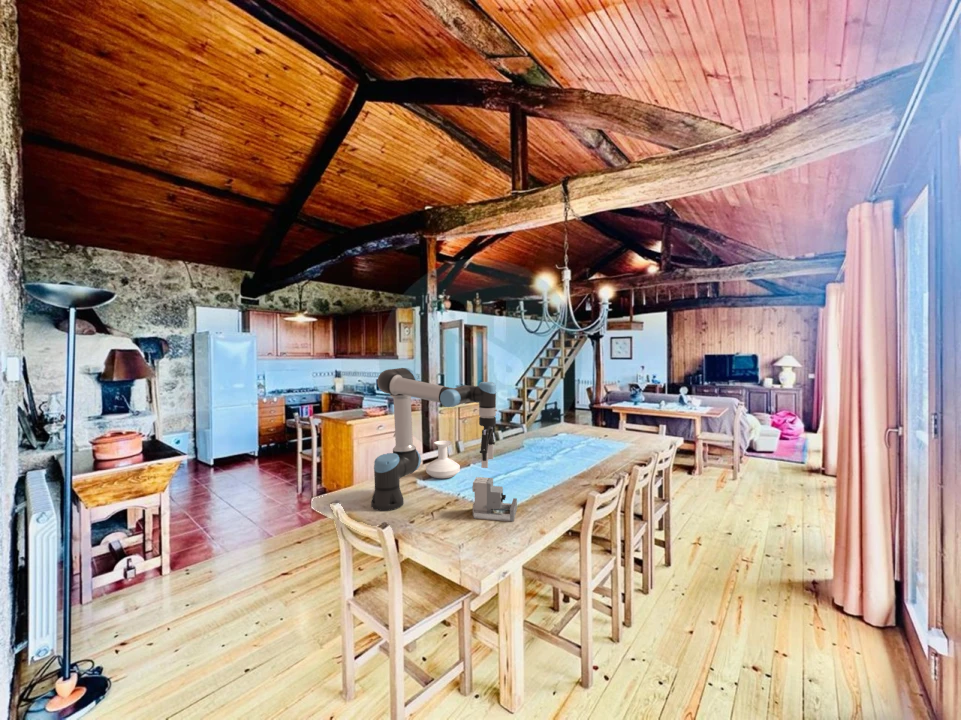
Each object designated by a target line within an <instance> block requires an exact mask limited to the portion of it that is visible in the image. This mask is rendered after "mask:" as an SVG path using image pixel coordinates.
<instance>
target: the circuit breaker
mask: <svg viewBox="0 0 961 720" xmlns="http://www.w3.org/2000/svg"><path fill="white" fill-rule="evenodd" d="M503 490H504V488H503V486H499V485H498V486H497V485H494V478H493V477H480V476H478V477H477V476H476V477H475V479H474V480H473V481H472V493H474V502H473V504H472V516H473V517H474V512H487V513H494V512H493V511H494V510H502V509H501V506H502V503H504V501H505V500H506V498H507V495H506V494H504V491H503Z"/></svg>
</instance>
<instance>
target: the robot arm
mask: <svg viewBox="0 0 961 720" xmlns="http://www.w3.org/2000/svg"><path fill="white" fill-rule="evenodd" d="M377 387H378V389H380V391H381V392H382V393H385V394H387V395H388V394H389V396H390V397H391V398H393V413H394V417H393V418H394V438H395V439H394V440H395V445H394V447H393V448H392V452H388V453H383V454H381V455H378V456H377V457H376V458H375V460H374V462H373V463H374V464H373V465H374V466H373V471H374V472H373V473H374V476H373V477H374V492H373V495H372V498H371V501H370V503H371V504H370V505H371V509H373V510H375V511H380V512H381V511H383V512H386V511H394V510H397V509H398V508H399V509H400V508H401V507H402V506H403V505H404V502H405V501H404V495H403V493H402V491H401V488H400V487H401V486H400V485H401V484H400V479H401V478H403V477H405V476H408V475H410V474H413V473H414V472H416V471H417V470H418V469H419V468H420V466H421V462H422V457H421V454H420V453H419V451H418V450H417V446H415V444H414V443H413V440H414V439H413V421H412V420H413V417H412V398H415V399H416V398H417V399H422V400H426V401H430V402H435V403H439V404H441V405H442V406H444V407H446V408H453V407H456V406H459V405H463V404H466V403H476V404H477V403H478V416H479V419H478V422H479V423H478V424H479V426H481V427H483V429H481V443H480V450H479V454H481V456H480V457H481V468H483V469H488V468H489V460H493V459H494V445H495V444H496V443H495V440H494V439H495V438H494V429H493V426H496V425H497V417H496V415H497V412H498V409H496V407H497V406H496V405H497V390H496V389H497V388H496V383H495V382H492V381H481V382H479V384H478V385H477V386H476V385H466V384H463V385H462V384H458V385H457V386H456V387H455V388H454V387H449V386H444V385H441V384H435V383H429V382H425V381H419V380H418V376H417V374H416V372H414V370H413V369H412V368H410V367H409V368H407V367H398V368H390V369H385V370H383V371H381V373H379V375H378V377H377Z"/></svg>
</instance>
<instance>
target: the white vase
mask: <svg viewBox="0 0 961 720" xmlns="http://www.w3.org/2000/svg"><path fill="white" fill-rule="evenodd" d="M433 444H434V445H435V446H437V453H438V454H437V456H438V457H437V458H436V459H434V460H432V461H431V462H429V463H428V464H427V465H426V466H425V472H426V473H427V475H429V476H430V477H432V478H435V479H448V478H453V477H455V476H456V475H457V474H458V473H460V471H461V467H460V466H461V465H460V464H459V463H457V462H456V461H455V460H453V459H451V458H449V457H448V446H450V445H451V444H452V441H450V440H444V439H443V440H437V441H434V442H433Z"/></svg>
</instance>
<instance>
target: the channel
mask: <svg viewBox="0 0 961 720" xmlns="http://www.w3.org/2000/svg"><path fill="white" fill-rule="evenodd" d="M517 499H518V498H516V497H513V499H512V502H511V503H509V502H503V503H502V506H501V509H500V510H503V509H507V510H506V511H509V513H499V512H492V513H487V512H474V516H473V519H476V520H477V519H478V520H487V521H488V520H489V521H503V522H514V521H515V517H516V514H517V509H518V500H517Z"/></svg>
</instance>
